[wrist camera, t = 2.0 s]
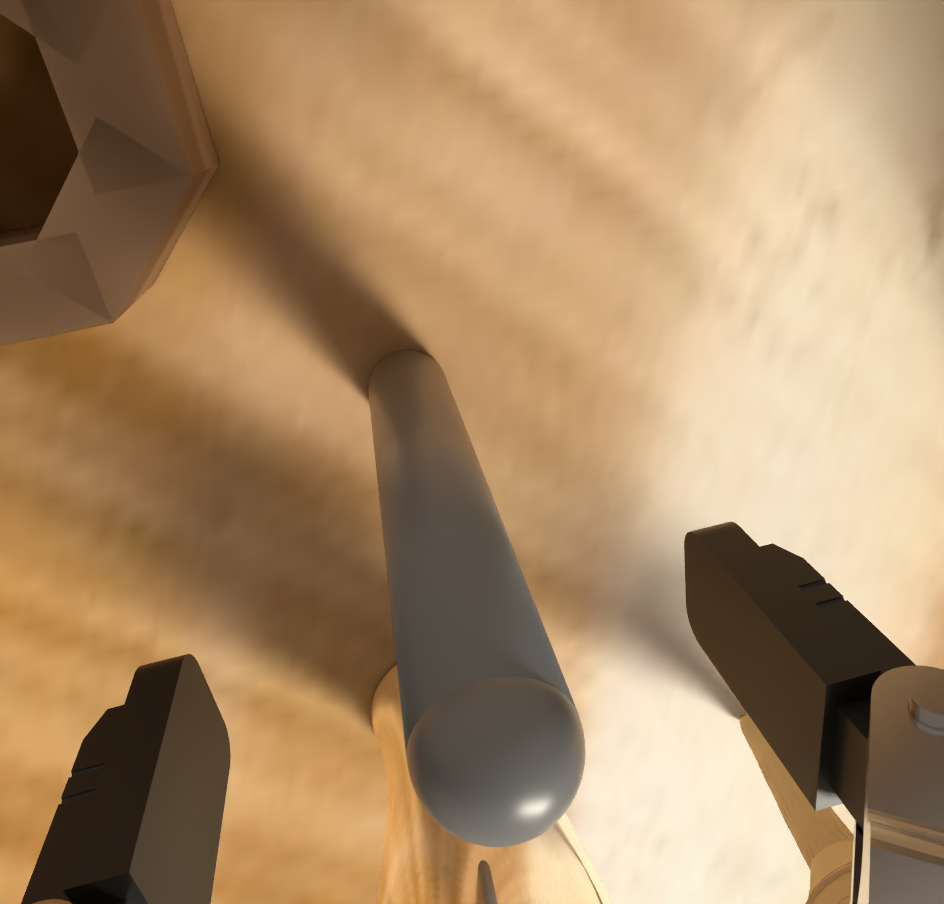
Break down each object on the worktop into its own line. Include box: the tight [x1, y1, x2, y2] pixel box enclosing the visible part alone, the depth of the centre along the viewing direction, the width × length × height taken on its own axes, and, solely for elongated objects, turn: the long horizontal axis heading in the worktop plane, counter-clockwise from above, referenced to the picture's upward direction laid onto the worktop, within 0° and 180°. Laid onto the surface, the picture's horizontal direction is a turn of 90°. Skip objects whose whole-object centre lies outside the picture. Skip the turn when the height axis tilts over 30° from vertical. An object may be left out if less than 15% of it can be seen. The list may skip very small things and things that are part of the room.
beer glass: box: [371, 664, 612, 904], centre depth 21 cm, size 7×7×15 cm
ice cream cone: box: [740, 715, 854, 904], centre depth 24 cm, size 6×6×15 cm
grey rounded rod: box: [368, 350, 585, 847], centre depth 15 cm, size 2×2×15 cm
